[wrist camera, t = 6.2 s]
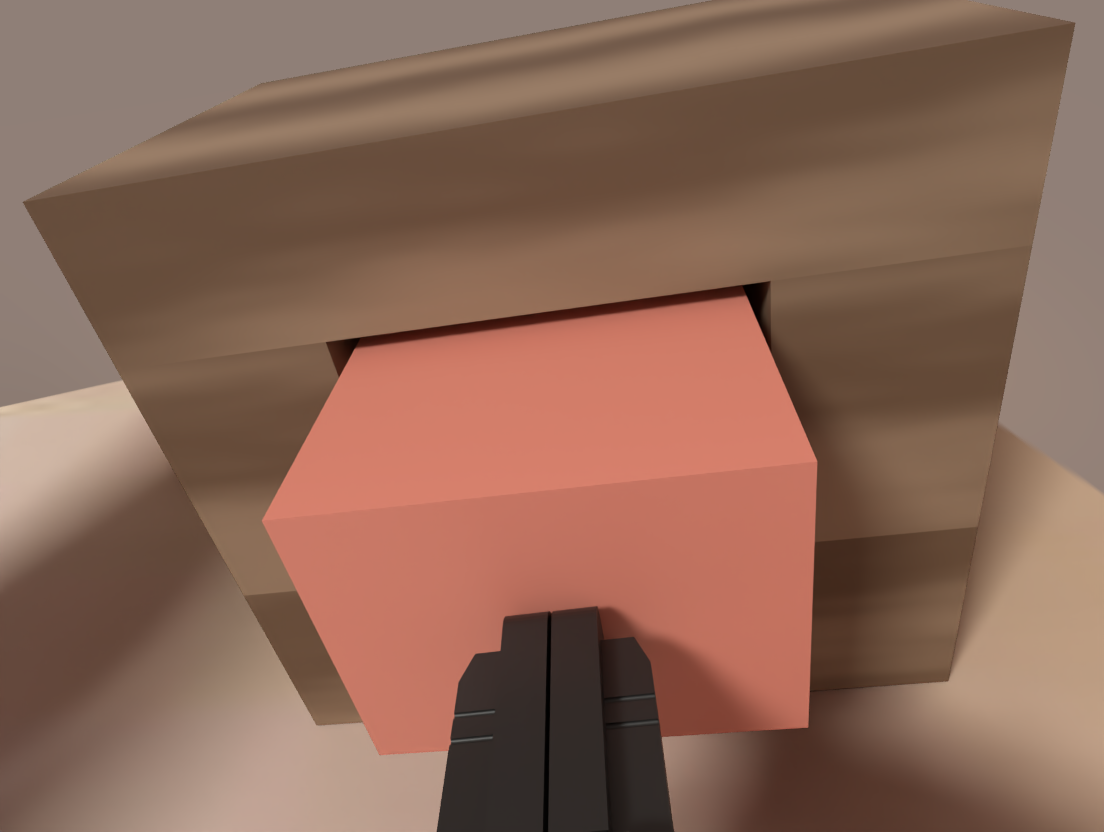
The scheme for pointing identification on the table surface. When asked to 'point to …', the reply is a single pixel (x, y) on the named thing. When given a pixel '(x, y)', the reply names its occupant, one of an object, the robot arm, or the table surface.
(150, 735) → the table surface
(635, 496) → the pink rectangular block
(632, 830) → the robot arm
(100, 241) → the switch box
